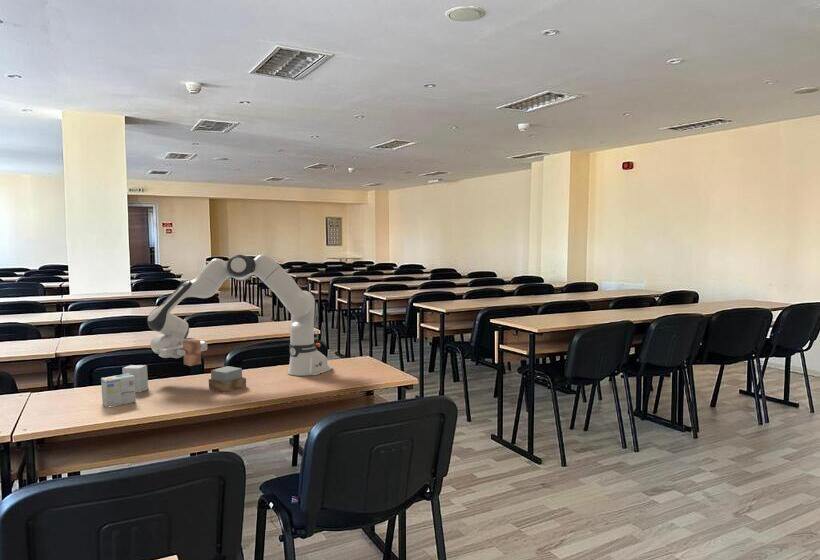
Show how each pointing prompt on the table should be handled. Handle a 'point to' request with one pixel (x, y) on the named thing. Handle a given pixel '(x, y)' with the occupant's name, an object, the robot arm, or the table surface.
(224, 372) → the grey top block
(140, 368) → the small box
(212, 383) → the walnut base block
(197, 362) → the terracotta block
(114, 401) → the light bulb box
